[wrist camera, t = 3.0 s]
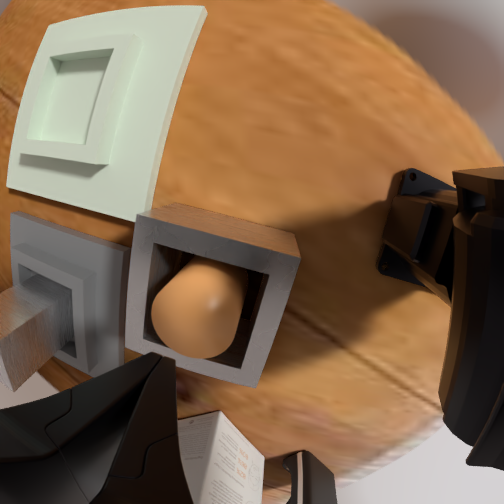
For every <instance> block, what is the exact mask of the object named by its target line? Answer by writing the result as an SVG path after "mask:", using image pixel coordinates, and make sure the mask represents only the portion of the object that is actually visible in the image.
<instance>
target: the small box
mask: <svg viewBox="0 0 504 504" xmlns="http://www.w3.org/2000/svg"><path fill="white" fill-rule="evenodd" d="M178 436H179V446H180V454H181V461H182V465H183V469H184V473H185V477H186V480H187V483H188V487H189V490H190V493H191V496H192V499H193V502H194V504H261V502H262V488H263V473H264V459H265V458H264V456H263V455H262V454H261V453H260V452H259V451H258V450H257V449H256V448H255V447H254V446H253V445H252V444H251V443H250V442H249V441H248V440H247V439H246V438H245V437H244V436H243V435H242V434H241V433H240V432H239V430H238V429H237V428H236V427H235V426H234V425H233V424H232V423H231V422H230V421H229V420H228V419H227V417H226V416H225V415H224V414H223V413H222V412H221V411H217V412H213V413H209V414H205V415H200V416H196V417H191V418H187V419H182V420H178Z"/></svg>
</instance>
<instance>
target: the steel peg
mask: <svg viewBox="0 0 504 504" xmlns="http://www.w3.org/2000/svg"><path fill="white" fill-rule="evenodd" d="M74 336H75V335H74V323H73V305H72V289H70V288H68V287H66V286H64V285H61V284H59V283H57V282H55V281H53V280H51V279H49V278H47V277H45V276H42V275H40V274H36V275H34V276H32V277H30V278H28V279H26V280H24V281H22V282H20V283H18V284H16V285H15V286H13V287H11V288H9V289H7V290H5V291H3V292H1V293H0V382H2V383H3V384H4V385H5V386H6V387H8V388H9V389H10V390H11V391H13V392H15V391H16V390H17V389H18V388H19V387H20V386H21V385H22V384H23V383H24V382H25V381H26V380H27V379H28V378H29V377H31V375H33V374H34V373H35V372H36V371H37V370H38V369H39V368H40V367H41V366H42V365H43V364H44V363H45V362H47V361H48V360H49V359H50V358H51V357H52V356H53V355H54V354H55V353H56V352H57V351H59V350H60V349H61V348H62V347H63V346H64V345H65V344H66V343H67V342H69V341H70V340H71V339H72V338H73V337H74Z"/></svg>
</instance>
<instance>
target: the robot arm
mask: <svg viewBox="0 0 504 504" xmlns="http://www.w3.org/2000/svg"><path fill="white" fill-rule="evenodd" d="M410 173H412V174H413V176H414V178H413V180H412V181H411V180H410V178H409V175H410ZM452 174H453V181H454V185H456V188H454V187H452V186H450V185H448V184H446V183H444V182H442V181H440V180H438V179H436V178H434V177H432V176H430V175H428V174H425V173H423V172H421V171H419V170H417V169H414V168H408V169H406V170H405V171H404V173H403V176H402V180H401V184H400V188H399V192H398V195H397V196H395V197H394V198H393V201H392V205H391V208H390V212H389V215H388V218H387V222H386V225H385V228H384V231H383V234H382V239H383V244H382V247H381V250H380V253H379V256H378V259H377V262H376V269H377V270H378V271H379V272H380V273H381V274H383V275H386V276H390V277H393V278H397V279H400V280H404V281H407V282H410V283H414V284H417V285H421V286H424V287H427V288H429V289H430V290H431V291H432V292H434V293H435V294H436V295H437V296H438V297H440V298H441V299H442V300H443V301H444V302H445V303H446V304H448V305H449V306H450V307H451V315H450V324H449V332H448V339H447V346H446V352H445V357H444V363H443V368H442V373H441V378H440V385H439V391H438V394H439V398H440V402H441V406H442V410H443V412H444V415H443V422H444V423H445V424H446V426H447V427H448V428H449V429H450V431H451V432H452V433H453V434H454V435H455V436H457V437H458V438H459V439H461V440H462V441H463V442H465V443H466V444H468V445H470V446H473V449H472V450H471V453H470V454H469V456H468V457H467V459H466V464H467V465H469V466H483V467H493V468H496V469H500V470H503V471H504V167H492V168H479V169H468V170H458V171H452ZM385 262H387V266H386V267H385V268H384V269H382V264H383V263H385ZM0 504H194V502H193V499H192V496H191V493H190V490H189V487H188V483H187V480H186V477H185V473H184V469H183V465H182V461H181V454H180V446H179V436H178V418H177V394H176V360H175V359H173V358H170V357H167V356H162V355H161V354H158V353H155V352H149V353H147V354H145V355H142V356H140V357H138V358H136V359H134V360H132V361H130V362H128V363H125V364H123V365H121V366H119V367H117V368H115V369H112V370H110V371H108V372H106V373H104V374H101V375H99V376H97V377H95V378H92V379H90V380H88V381H86V382H83V383H81V384H79V385H76V386H74V387H72V388H71V389H70V388H69V389H67V390H64V391H62V392H60V393H57V394H54V395H52V396H49V397H47V398H43V399H40V400H36V401H33V402H29V403H25V404H21V405H17V406H13V407H9V408H4V409H0Z"/></svg>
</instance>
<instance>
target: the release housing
mask: <svg viewBox="0 0 504 504" xmlns="http://www.w3.org/2000/svg"><path fill="white" fill-rule="evenodd" d="M183 251H185V252H189V253H192V254H196V255H199V256H203V257H207V258H210V259H214V260H217V261H221V262H225V263H228V264H232V265H236V266H239V267H243V268H247V269H250V270H254V271H258V272H261V273H264V275H263V279H262V282H261V286H260V289H259V292H258V296H257V299H256V303H255V306H254V310H253V313H252V316H251V320H246V319H242V318H240V319H239V322H238V326H237V330H236V334H235V337H234V340H233V342H232V343H231V345H230V346H229V347H228V348H227V349H226V350H225V351H224V352H222V353H221V354H219V355H217V356H214V357H211V358H205V359H196V358H190V357H187V356H184V355H181V354H179V353H177V352H175V351H174V350H172V349H171V348H169V347H168V346H167V345H166V344H165V343H164V342H163V341H162V340H161V339H160V337H159V336H158V334H157V332H156V330H155V328H154V326H153V322H152V317H151V309H152V304H153V301H154V299H155V297H156V296H157V294H158V293H159V292H160V291H161V290H162V289H163V288H164V287H165V286H166V285H167V284H168V283H169V282H170V281H171V280H172V279H173V278H174V277H175V276H176V275H177V274H178V273H179V269H180V264H181V258H182V253H183ZM300 260H301V256H300V252H299V249H298V246H297V242H296V239H295V236H294V233H290V232H287V231H283V230H279V229H276V228H272V227H268V226H265V225H261V224H257V223H254V222H250V221H246V220H242V219H239V218H235V217H231V216H227V215H223V214H219V213H215V212H211V211H208V210H204V209H200V208H196V207H192V206H188V205H184V204H179V203H173V204H169V205H166V206H162V207H159V208H155V209H152V210H148V211H145V212H142V213H138V214H137V215H136V221H135V228H134V235H133V243H132V251H131V259H130V269H129V279H128V291H127V306H126V327H125V347H126V348H128V349H131V350H133V351H136V352H138V353H141V354H143V355H145V354H147V353H149V352H155V353H158V354H161V355H162V356H167V357H170V358H173V359H175V360H176V366H177V367H180V368H183V369H187V370H190V371H193V372H196V373H199V374H203V375H206V376H210V377H213V378H217V379H220V380H224V381H228V382H232V383H235V384H239V385H243V386H248V387H252V388H256V387H257V384H258V381H259V379H260V376H261V373H262V371H263V368H264V365H265V363H266V360H267V357H268V354H269V352H270V349H271V346H272V343H273V341H274V338H275V335H276V332H277V329H278V326H279V324H280V321H281V318H282V315H283V312H284V309H285V306H286V303H287V300H288V297H289V294H290V291H291V288H292V285H293V282H294V279H295V276H296V273H297V270H298V266H299V263H300Z"/></svg>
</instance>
